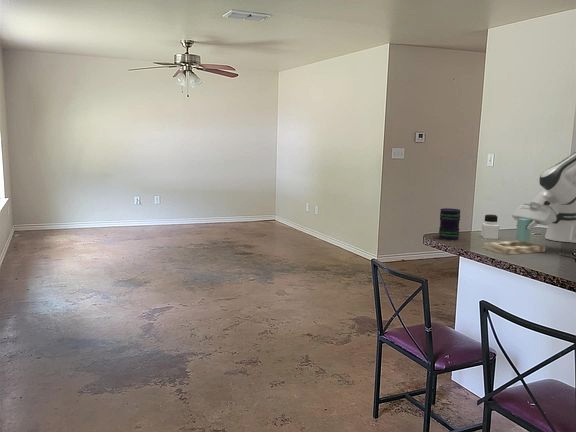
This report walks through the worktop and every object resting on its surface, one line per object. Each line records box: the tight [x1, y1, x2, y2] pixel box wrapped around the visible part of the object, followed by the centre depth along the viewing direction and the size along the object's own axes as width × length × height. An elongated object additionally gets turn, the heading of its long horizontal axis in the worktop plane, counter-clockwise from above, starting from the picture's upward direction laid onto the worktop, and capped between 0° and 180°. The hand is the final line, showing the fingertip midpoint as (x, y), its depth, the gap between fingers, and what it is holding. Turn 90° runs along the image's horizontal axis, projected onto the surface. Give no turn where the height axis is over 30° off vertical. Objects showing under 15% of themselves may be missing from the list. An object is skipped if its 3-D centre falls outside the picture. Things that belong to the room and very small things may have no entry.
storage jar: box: [438, 207, 461, 241], centre depth 252 cm, size 10×10×15 cm
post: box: [515, 218, 531, 242], centre depth 227 cm, size 4×4×10 cm
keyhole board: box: [483, 240, 546, 256], centre depth 228 cm, size 22×14×2 cm, turn 108°
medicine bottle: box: [480, 214, 500, 240], centre depth 255 cm, size 7×7×12 cm
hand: (522, 228), depth 227 cm, fingers closed on post, 4 cm apart
